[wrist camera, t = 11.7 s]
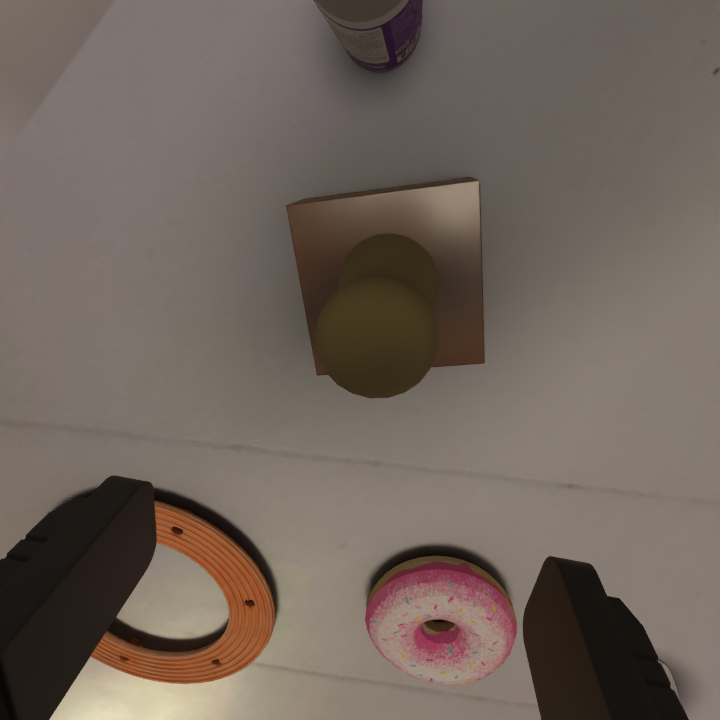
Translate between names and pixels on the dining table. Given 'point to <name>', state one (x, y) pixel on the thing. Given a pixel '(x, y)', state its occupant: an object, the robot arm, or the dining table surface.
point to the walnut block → (411, 219)
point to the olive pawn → (380, 318)
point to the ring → (244, 600)
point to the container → (375, 29)
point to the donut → (445, 602)
